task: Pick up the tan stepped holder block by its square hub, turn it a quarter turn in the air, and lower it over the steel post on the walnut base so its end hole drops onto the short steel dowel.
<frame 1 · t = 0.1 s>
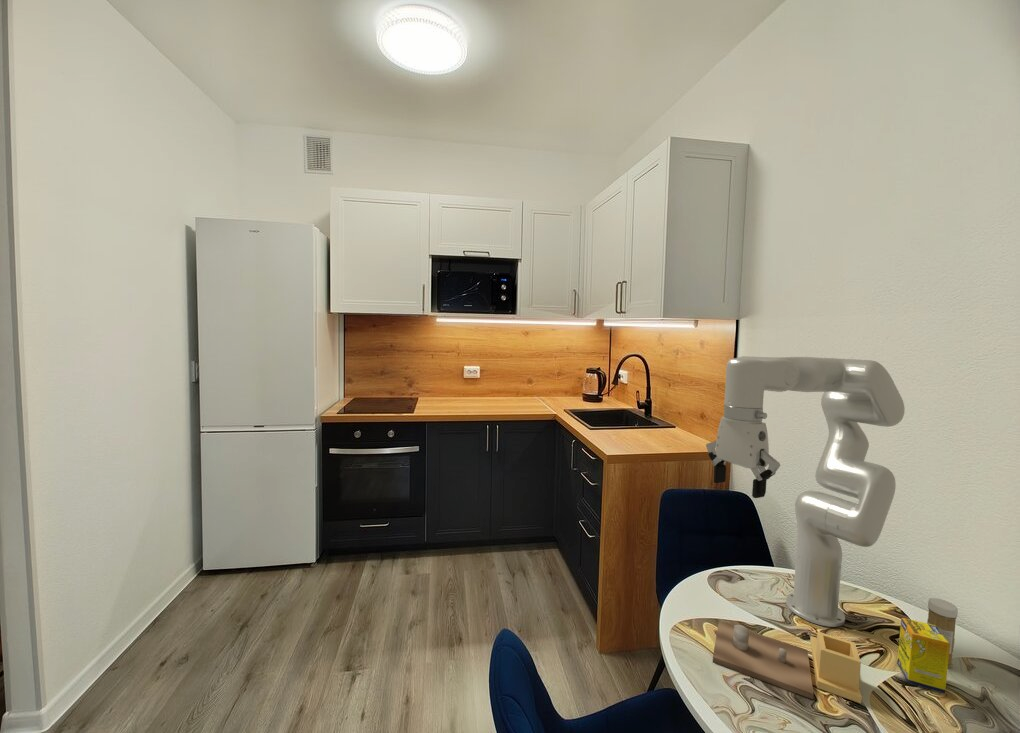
hand: (738, 489, 95), 37 cm above the table, tool pointing down, fingers open, 9 cm apart
base: (760, 658, 94), on the table
tan stepped holder block: (835, 680, 88), on the table
supplement box: (919, 679, 89), on the table
sprinkles bottle: (937, 661, 94), on the table
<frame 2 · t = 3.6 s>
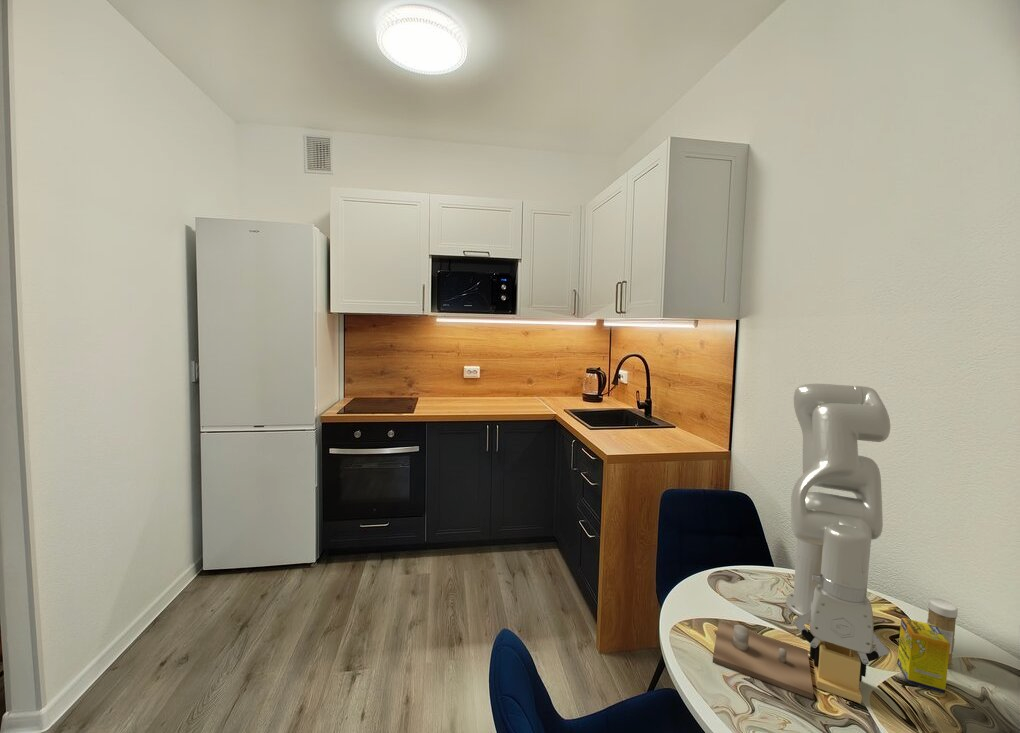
hand: (836, 669, 88), 2 cm above the table, tool pointing down, fingers closed on tan stepped holder block, 6 cm apart
tan stepped holder block: (835, 680, 88), on the table, touching gripper
everything else where it was.
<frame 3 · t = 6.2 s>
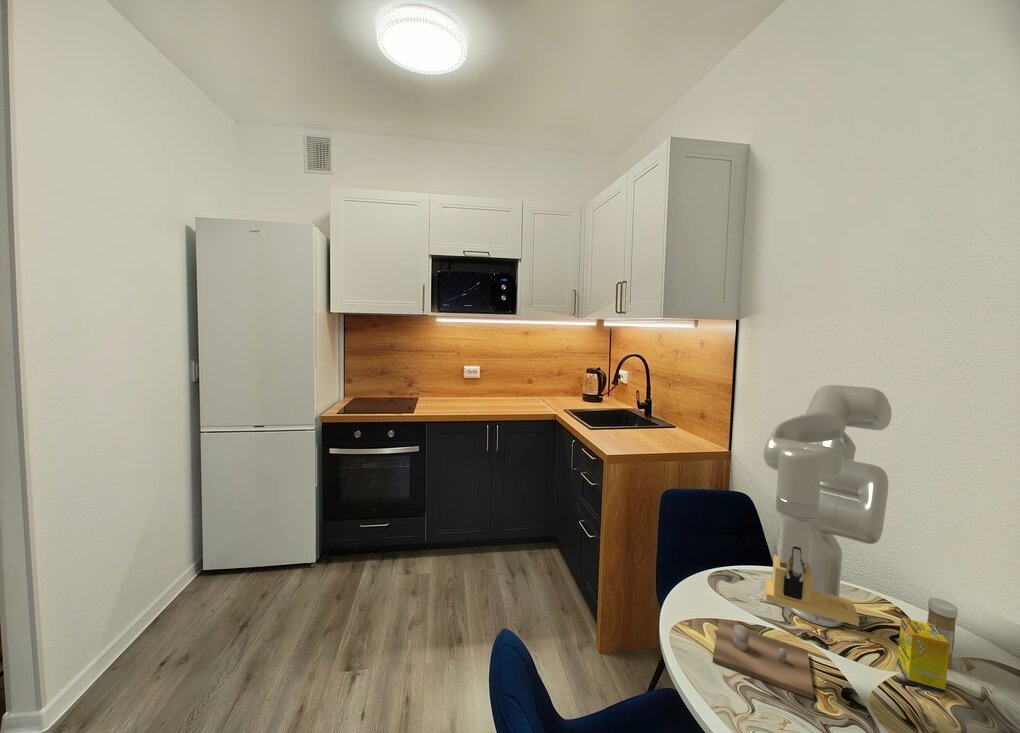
hand: (790, 587, 91), 18 cm above the table, tool pointing down, fingers closed on tan stepped holder block, 6 cm apart
tan stepped holder block: (789, 598, 91), point 15 cm above the table, touching gripper
everything else where it was.
when the fingers open (5 cm above the table, at t = 9.3 s): tan stepped holder block stays where it is, resting on base.
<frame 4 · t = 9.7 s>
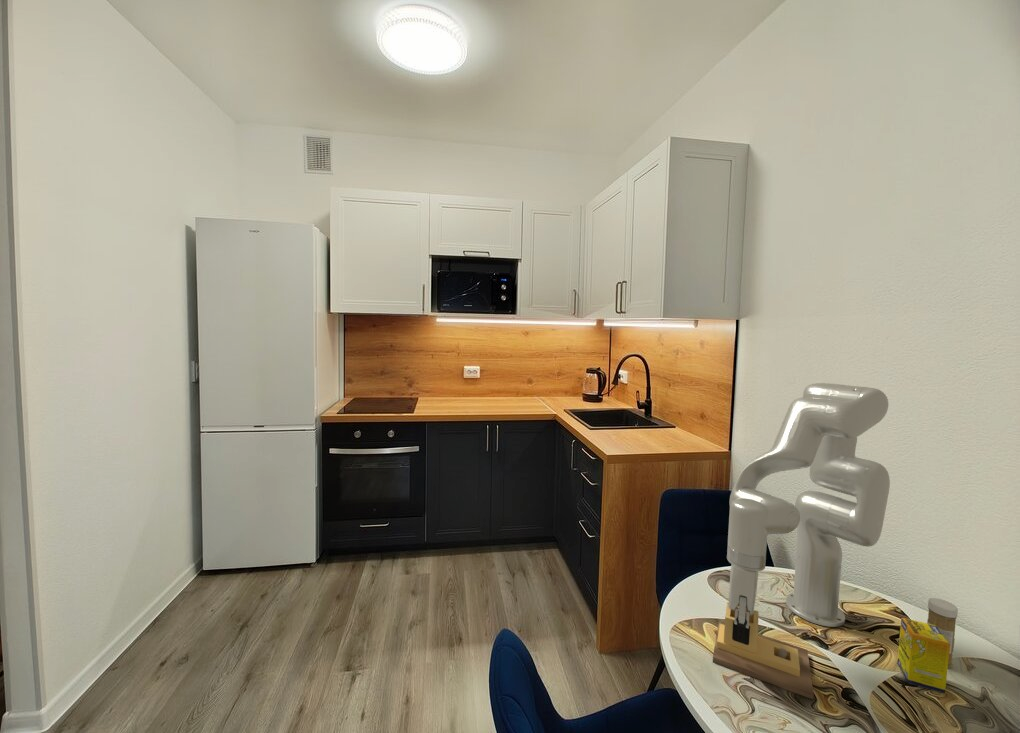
hand: (741, 628, 96), 5 cm above the table, tool pointing down, fingers open, 9 cm apart
tan stepped holder block: (740, 645, 96), point 1 cm above the table, touching base
everything else where it was.
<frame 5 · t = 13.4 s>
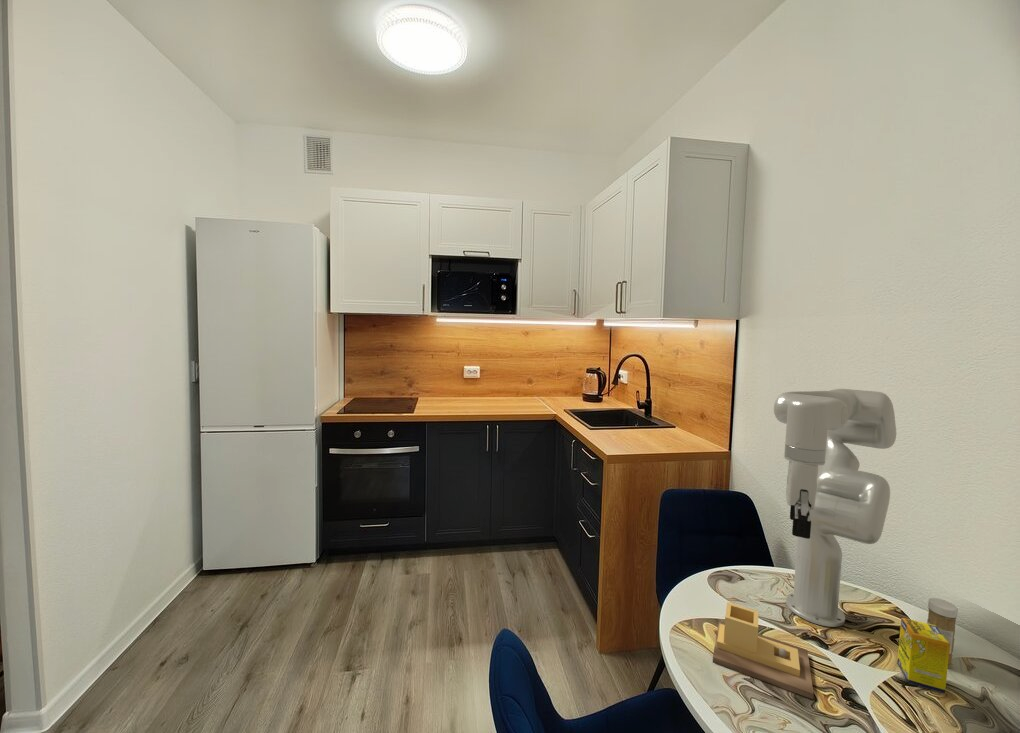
hand: (799, 528, 96), 28 cm above the table, tool pointing down, fingers open, 9 cm apart
nothing on the table moved.
at the end: tan stepped holder block 0.1 cm from the target spot, point 1.2 cm above the table; tan stepped holder block tilted 0°; the gripper is holding nothing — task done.
